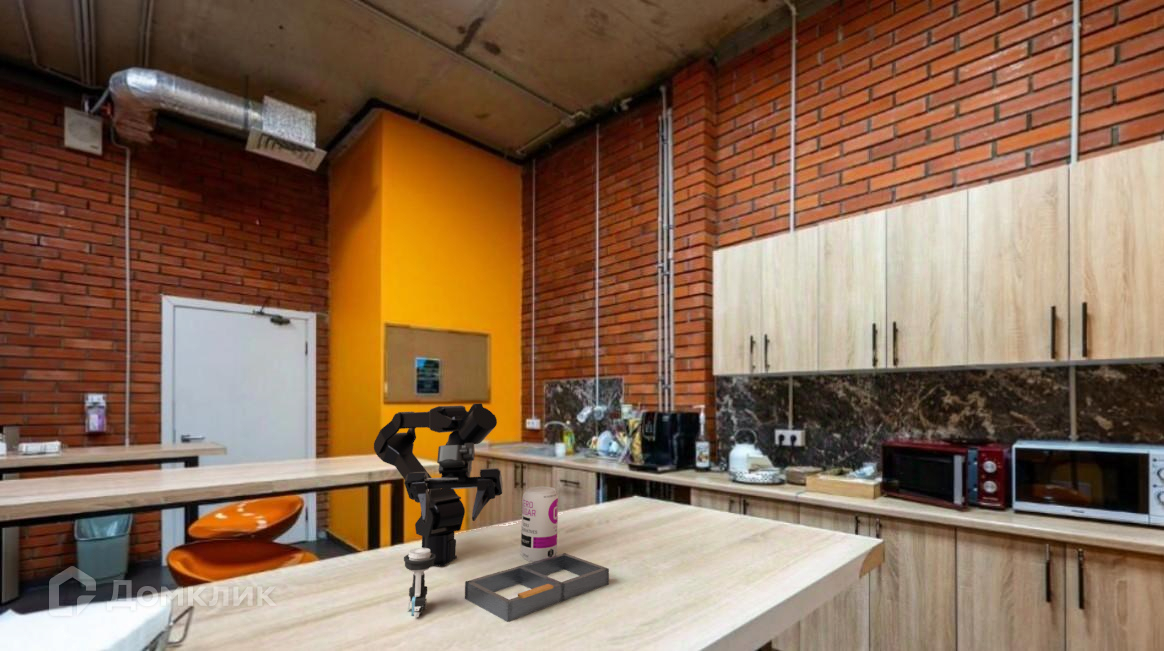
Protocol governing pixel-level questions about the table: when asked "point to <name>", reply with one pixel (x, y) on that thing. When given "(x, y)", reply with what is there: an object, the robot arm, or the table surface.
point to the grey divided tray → (535, 585)
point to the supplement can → (539, 523)
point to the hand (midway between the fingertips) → (448, 521)
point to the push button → (418, 577)
